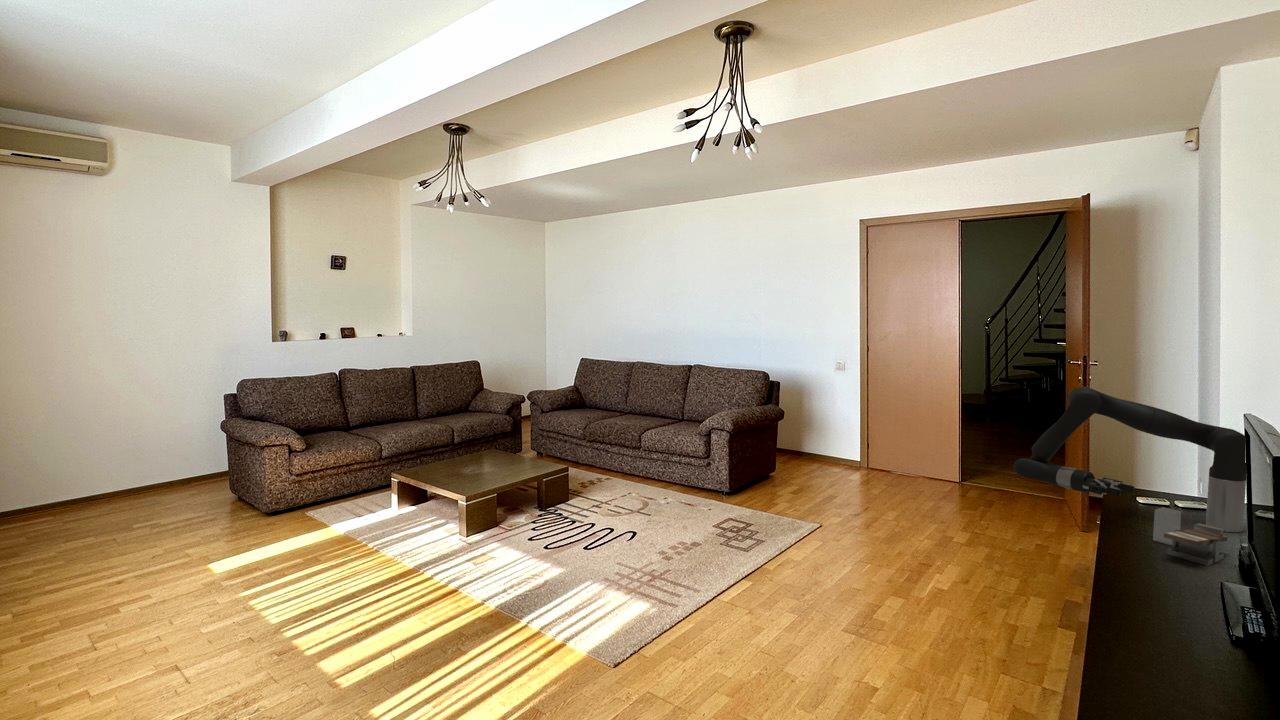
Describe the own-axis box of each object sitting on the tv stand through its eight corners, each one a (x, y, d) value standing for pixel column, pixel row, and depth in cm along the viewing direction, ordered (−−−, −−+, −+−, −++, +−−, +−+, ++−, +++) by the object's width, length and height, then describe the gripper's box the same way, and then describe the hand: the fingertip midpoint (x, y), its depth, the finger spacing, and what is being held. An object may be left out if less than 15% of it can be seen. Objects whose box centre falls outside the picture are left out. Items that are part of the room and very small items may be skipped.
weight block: (1160, 537, 208) (1162, 507, 207) (1179, 542, 203) (1181, 511, 202) (1152, 540, 205) (1154, 509, 204) (1171, 545, 201) (1173, 514, 200)
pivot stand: (1181, 547, 199) (1182, 527, 198) (1224, 558, 190) (1225, 537, 189) (1165, 553, 194) (1167, 533, 194) (1208, 566, 185) (1210, 544, 185)
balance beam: (1194, 532, 200) (1195, 522, 200) (1227, 540, 193) (1228, 530, 193) (1163, 537, 190) (1165, 526, 190) (1197, 546, 183) (1198, 535, 183)
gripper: (1064, 471, 223) (1117, 483, 209) (1086, 466, 230) (1139, 477, 216) (1062, 492, 224) (1115, 506, 210) (1085, 486, 231) (1137, 499, 216)
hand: (1127, 491), depth 213 cm, fingers open, 8 cm apart
